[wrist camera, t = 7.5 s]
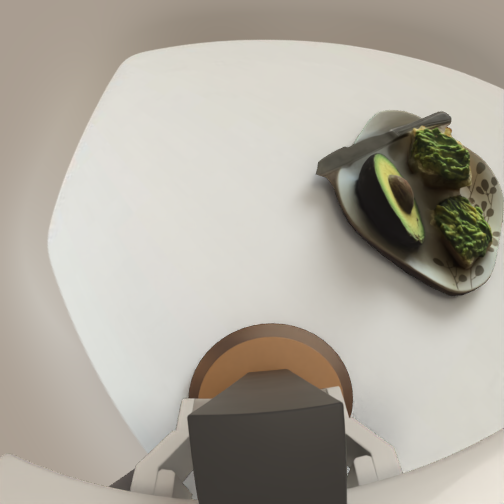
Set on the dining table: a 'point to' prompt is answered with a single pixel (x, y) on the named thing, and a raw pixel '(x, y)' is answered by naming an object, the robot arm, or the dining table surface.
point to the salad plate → (420, 199)
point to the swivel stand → (273, 331)
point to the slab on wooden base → (269, 427)
